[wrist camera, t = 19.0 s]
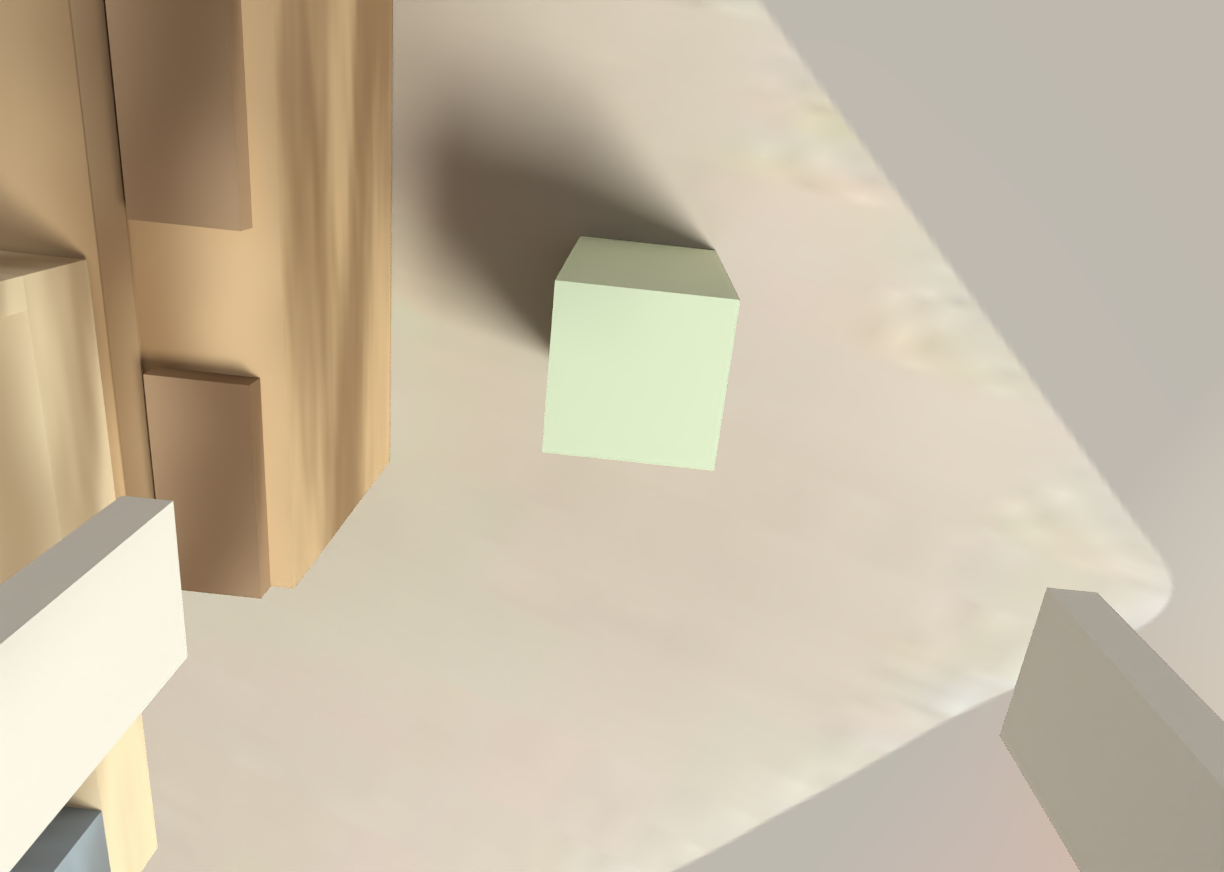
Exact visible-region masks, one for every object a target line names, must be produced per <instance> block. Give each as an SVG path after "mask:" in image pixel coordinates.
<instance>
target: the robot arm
mask: <svg viewBox="0 0 1224 872" xmlns="http://www.w3.org/2000/svg"><path fill="white" fill-rule="evenodd" d="M186 658H187V647H186V636H185V625H184V614H183V603H182V592H181V581H180V570H179V559H178V548H177V537H176V526H175V515H174V504H173V501H170V500H160V499H150V498H140V497H130V496H120V497H119V498H118V499H116V500H115V501H114V502H112V503H111V504H110V505H108V506H107V507H105V508H104V509H103V510H101V511H100V512H99V513H97V514H96V515H95V516H93V517H92V518H91V519H89V520H88V521H86V522H85V523H84V524H82V525H81V526H80V527H78V528H77V529H76V530H74V531H73V532H71V533H70V534H69V535H67V536H66V537H65V538H63V539H62V540H61V541H59V542H58V543H57V544H55V545H54V546H52V547H51V548H50V549H48V550H47V551H46V552H44V553H43V554H42V555H40V556H39V557H38V558H36V559H35V560H33V561H32V562H31V563H29V564H28V565H27V566H25V567H24V568H23V569H21V570H20V571H19V572H17V573H16V574H14V575H13V576H12V577H10V578H9V579H8V580H6V581H5V582H4V583H2V584H1V585H0V872H10V871H11V869H12V868H13V867H14V866H15V865H16V863H17V862H18V861H19V860H20V859H21V857H22V856H23V855H24V854H25V852H26V851H27V850H28V849H29V848H30V846H31V845H32V844H33V843H34V842H35V840H36V839H37V838H38V837H39V836H40V834H41V833H42V832H43V831H44V830H45V828H46V827H47V826H48V825H49V823H50V822H51V821H52V820H53V819H54V817H55V816H56V815H57V814H58V813H59V811H60V810H61V809H62V808H63V807H64V805H65V804H66V803H67V802H68V801H69V799H70V798H71V797H72V796H73V794H74V793H75V792H76V791H77V790H78V788H79V787H80V786H81V785H82V784H83V782H84V781H85V780H86V779H87V778H88V776H89V775H90V774H91V773H92V772H93V770H94V769H95V768H96V767H97V766H98V764H99V763H100V762H101V761H102V759H103V758H104V757H105V756H106V755H107V753H108V752H109V751H110V750H111V749H112V747H113V746H114V745H115V744H116V743H117V741H118V740H119V739H120V738H121V737H122V735H123V734H124V733H125V732H126V730H127V729H128V728H129V727H130V726H131V724H132V723H133V722H134V721H135V720H136V718H137V717H138V716H139V715H140V714H141V712H142V711H143V710H144V709H145V708H146V706H147V705H148V704H149V703H150V701H151V700H152V699H153V698H154V697H155V695H156V694H157V693H158V692H159V691H160V689H161V688H162V687H163V686H164V685H165V683H166V682H167V681H168V680H169V679H170V677H171V676H172V675H173V674H174V672H175V671H176V670H177V669H178V668H179V666H180V665H181V664H182V663H183V662H184V660H185V659H186ZM1000 737H1001V739H1002V741H1003V742H1004V744H1005V746H1006V747H1007V749H1008V751H1009V752H1010V754H1011V755H1012V757H1013V759H1014V761H1015V762H1016V764H1017V766H1018V767H1019V769H1020V771H1021V772H1022V774H1023V776H1024V778H1025V779H1026V781H1027V782H1028V784H1029V786H1030V788H1031V789H1032V791H1033V793H1034V794H1035V796H1036V798H1037V799H1038V801H1039V803H1040V804H1041V806H1042V808H1043V810H1044V811H1045V813H1046V815H1047V816H1048V818H1049V820H1050V821H1051V823H1052V825H1053V826H1054V828H1055V830H1056V831H1057V833H1058V835H1059V836H1060V838H1061V840H1062V841H1063V843H1064V845H1065V846H1066V848H1067V850H1068V852H1069V853H1070V855H1071V857H1072V858H1073V860H1074V862H1075V863H1076V865H1077V867H1078V868H1079V870H1080V872H1224V721H1222V719H1221V718H1220V717H1219V716H1217V714H1216V713H1214V711H1213V710H1212V709H1211V708H1210V707H1209V706H1208V705H1207V704H1206V703H1205V702H1204V701H1203V700H1202V699H1201V698H1200V697H1199V696H1198V695H1197V694H1196V693H1195V692H1194V691H1193V690H1192V689H1191V688H1190V687H1189V686H1188V685H1187V684H1186V683H1185V682H1184V681H1183V680H1182V679H1181V678H1180V677H1179V676H1178V675H1177V674H1176V672H1175V671H1174V670H1173V669H1172V668H1171V667H1170V666H1169V665H1167V663H1166V662H1165V661H1164V660H1163V659H1162V658H1161V657H1160V656H1159V655H1158V654H1157V653H1156V652H1155V651H1154V650H1153V649H1152V648H1151V647H1150V646H1149V645H1148V644H1147V643H1146V642H1145V641H1144V640H1143V639H1142V638H1141V637H1140V636H1139V635H1138V634H1137V633H1136V632H1135V631H1134V630H1133V629H1132V628H1131V627H1130V626H1129V625H1128V624H1127V623H1126V621H1125V620H1124V619H1123V618H1122V617H1121V616H1120V615H1119V614H1118V613H1117V612H1116V611H1115V610H1114V609H1113V608H1112V607H1111V606H1110V605H1109V604H1108V603H1107V602H1106V601H1105V600H1104V599H1103V598H1102V597H1101V596H1100V595H1099V594H1098V593H1095V592H1085V591H1075V590H1065V589H1055V588H1047V589H1046V593H1045V596H1044V599H1043V602H1042V605H1041V608H1040V611H1039V614H1038V618H1037V621H1036V624H1035V627H1034V630H1033V633H1032V636H1031V639H1030V642H1029V646H1028V649H1027V652H1026V655H1025V658H1024V661H1023V664H1022V667H1021V671H1020V674H1019V677H1018V680H1017V683H1016V686H1015V689H1014V692H1013V696H1012V699H1011V702H1010V705H1009V708H1008V712H1007V714H1006V717H1005V720H1004V724H1003V727H1002V730H1001V733H1000Z"/></svg>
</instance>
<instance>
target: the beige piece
mask: <svg viewBox="0 0 1224 872" xmlns="http://www.w3.org/2000/svg"><path fill="white" fill-rule="evenodd" d="M115 500H116V497H115V489H114V481H113V473H112V464H111V456H110V448H109V439H108V431H107V423H106V414H105V406H104V398H103V390H102V381H101V373H100V365H99V356H98V348H97V340H96V331H95V323H94V315H93V306H92V298H91V290H90V282H89V273H88V265H87V259H79V258H69V257H60V256H51V255H41V254H32V253H23V252H13V251H4V250H0V585H1V584H2V583H4V582H5V581H6V580H8V579H9V578H10V577H12V576H13V575H14V574H16V573H17V572H19V571H20V570H21V569H23V568H24V567H25V566H27V565H28V564H29V563H31V562H32V561H33V560H35V559H36V558H38V557H39V556H40V555H42V554H43V553H44V552H46V551H47V550H48V549H50V548H51V547H52V546H54V545H55V544H57V543H58V542H59V541H61V540H62V539H63V538H65V537H66V536H67V535H69V534H70V533H71V532H73V531H74V530H76V529H77V528H78V527H80V526H81V525H82V524H84V523H85V522H86V521H88V520H89V519H91V518H92V517H93V516H95V515H96V514H97V513H99V512H100V511H101V510H103V509H104V508H105V507H107V506H108V505H110V504H111V503H112V502H114V501H115ZM157 848H158V846H157V838H156V830H155V821H154V813H153V805H152V796H151V788H150V780H149V772H148V763H147V755H146V747H145V738H144V730H143V722H142V713H141V714H140V715H139V716H138V717H137V718H136V720H135V721H134V722H133V723H132V724H131V726H130V727H129V728H128V729H127V730H126V732H125V733H124V734H123V735H122V737H121V738H120V739H119V740H118V741H117V743H116V744H115V745H114V746H113V747H112V749H111V750H110V751H109V752H108V753H107V755H106V756H105V757H104V758H103V759H102V761H101V762H100V763H99V764H98V766H97V767H96V768H95V769H94V770H93V772H92V773H91V774H90V775H89V776H88V778H87V779H86V780H85V781H84V782H83V784H82V785H81V786H80V787H79V788H78V790H77V791H76V792H75V793H74V794H73V796H72V797H71V798H70V799H69V801H68V802H67V803H66V804H65V805H64V807H63V808H62V809H61V810H60V811H59V813H58V814H57V815H56V816H55V817H54V819H53V820H52V821H51V822H50V823H49V825H48V826H47V827H46V828H45V830H44V831H43V832H42V833H41V834H40V836H39V837H38V838H37V839H36V840H35V842H34V843H33V844H32V845H31V846H30V848H29V849H28V850H27V851H26V852H25V854H24V855H23V856H22V857H21V859H20V860H19V861H18V862H17V863H16V865H15V866H14V867H13V868H12V869H11V871H10V872H141V871H142V870H143V868H144V867H145V865H146V864H147V862H148V861H149V859H150V858H151V856H152V855H153V853H154V852H155V850H156V849H157Z"/></svg>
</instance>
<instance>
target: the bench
mask: <svg viewBox="0 0 1224 872" xmlns="http://www.w3.org/2000/svg"><path fill="white" fill-rule="evenodd" d="M392 32H393V0H0V250H4V251H13V252H23V253H32V254H41V255H51V256H60V257H69V258H79V259H87V265H88V273H89V282H90V290H91V298H92V306H93V315H94V323H95V331H96V340H97V348H98V356H99V365H100V373H101V381H102V390H103V398H104V406H105V414H106V423H107V431H108V439H109V448H110V456H111V464H112V473H113V481H114V489H115V497H116V499H118V498H119V497H120V496H130V497H140V498H150V499H160V500H170V501H173V504H174V515H175V526H176V537H177V548H178V559H179V570H180V581H181V590H186V591H196V592H205V593H214V594H223V595H233V596H242V597H251V598H260V599H261V598H262V596H263V595H264V594H265V593H266V591H267V590H268V589H269V588H270V586H275V587H284V588H295V587H296V585H297V584H298V583H299V581H300V580H301V579H302V577H303V576H304V575H305V573H306V572H307V571H308V569H309V568H310V567H311V565H312V564H313V563H314V561H315V560H316V559H317V557H318V556H319V555H320V553H321V552H322V551H323V549H324V548H325V547H326V545H327V544H328V543H329V541H330V540H331V539H332V537H333V536H334V535H335V533H336V532H337V531H338V529H339V528H340V527H341V525H342V524H343V523H344V521H345V520H346V519H347V517H348V516H349V515H350V513H351V512H352V511H353V509H354V508H355V507H356V505H357V504H358V503H359V501H360V500H361V499H362V497H363V496H364V495H365V493H366V492H367V491H368V489H369V488H370V487H371V485H372V484H373V483H374V481H375V480H376V479H377V477H378V476H379V475H380V473H381V472H382V471H383V469H384V468H385V467H386V465H387V464H388V463H389V461H390V347H391V190H392Z"/></svg>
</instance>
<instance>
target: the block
mask: <svg viewBox="0 0 1224 872" xmlns="http://www.w3.org/2000/svg"><path fill="white" fill-rule="evenodd" d="M739 304H740V299H739V297H738V295H737V293H736V291H735V289H734V287H733V285H732V283H731V280H730V278H729V276H728V274H727V272H726V270H725V268H724V266H723V264H722V262H721V260H720V258H719V256H718V254H717V252H716V250H707V249H698V248H688V247H679V246H670V245H660V244H651V243H641V242H632V241H623V240H613V239H604V238H595V237H585V236H580V237H579V239H578V241H577V242H576V244H575V246H574V248H573V249H572V251H571V253H570V255H569V256H568V258H567V260H566V262H565V263H564V265H563V267H562V269H561V270H560V272H559V274H558V276H557V277H556V279H555V286H554V299H553V312H552V325H551V339H550V352H549V365H548V379H547V392H546V405H545V418H544V432H543V445H542V452H545V453H555V454H564V455H573V456H583V457H592V458H601V459H611V460H620V461H629V462H638V463H648V464H657V465H666V466H676V467H685V468H694V469H704V470H713V471H714V466H715V460H716V453H717V447H718V441H719V434H720V428H721V421H722V415H723V408H724V402H725V395H726V389H727V382H728V376H729V369H730V363H731V356H732V350H733V343H734V337H735V330H736V324H737V317H738V311H739Z"/></svg>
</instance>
